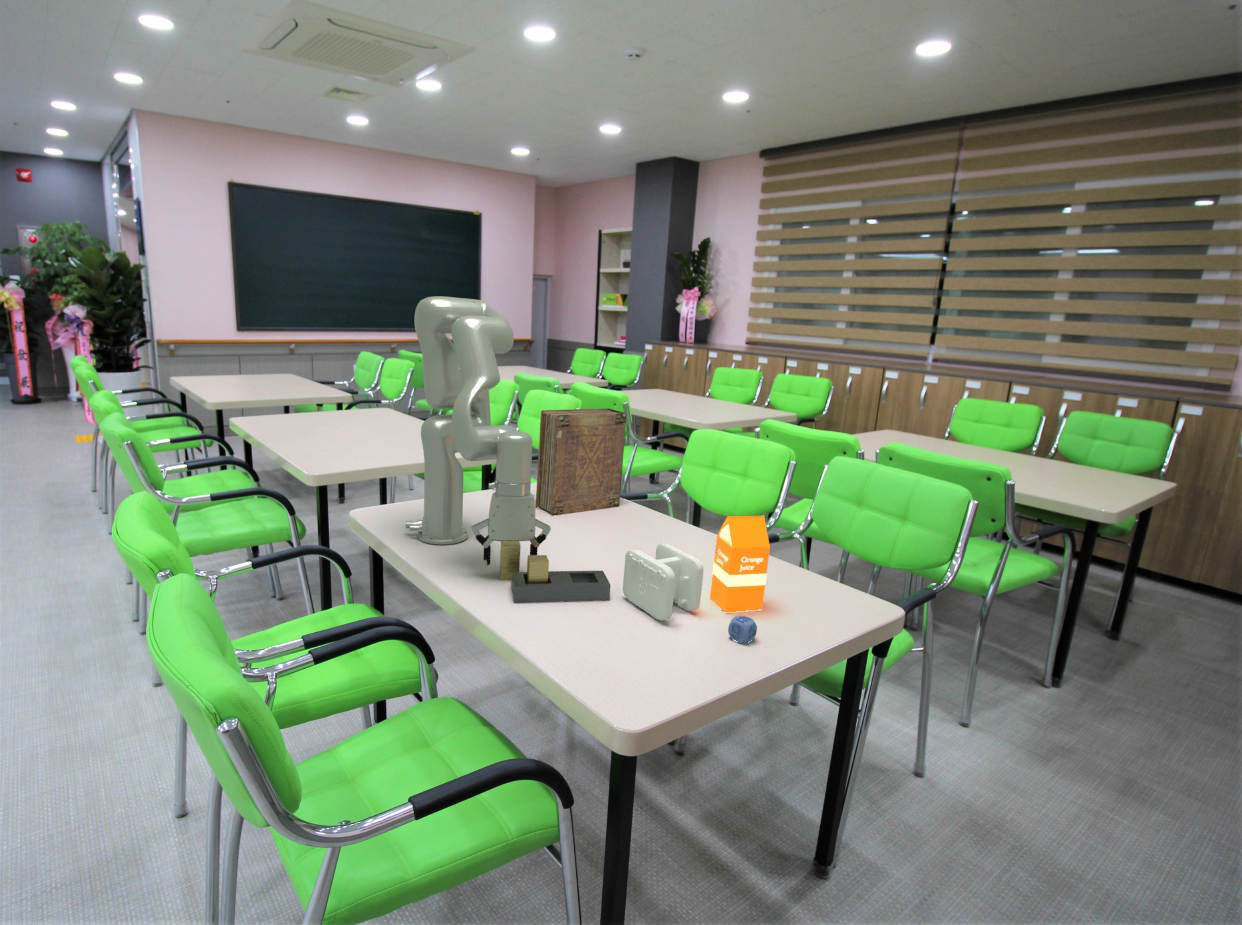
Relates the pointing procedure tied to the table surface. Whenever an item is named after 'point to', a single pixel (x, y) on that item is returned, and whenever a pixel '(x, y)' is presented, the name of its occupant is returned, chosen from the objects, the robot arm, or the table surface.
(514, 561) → the brass square peg
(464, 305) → the robot arm
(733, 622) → the decorative dice
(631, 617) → the table surface
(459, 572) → the table surface
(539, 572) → the peg holder block
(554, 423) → the book
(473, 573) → the table surface
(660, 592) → the cable organizer
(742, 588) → the orange juice
